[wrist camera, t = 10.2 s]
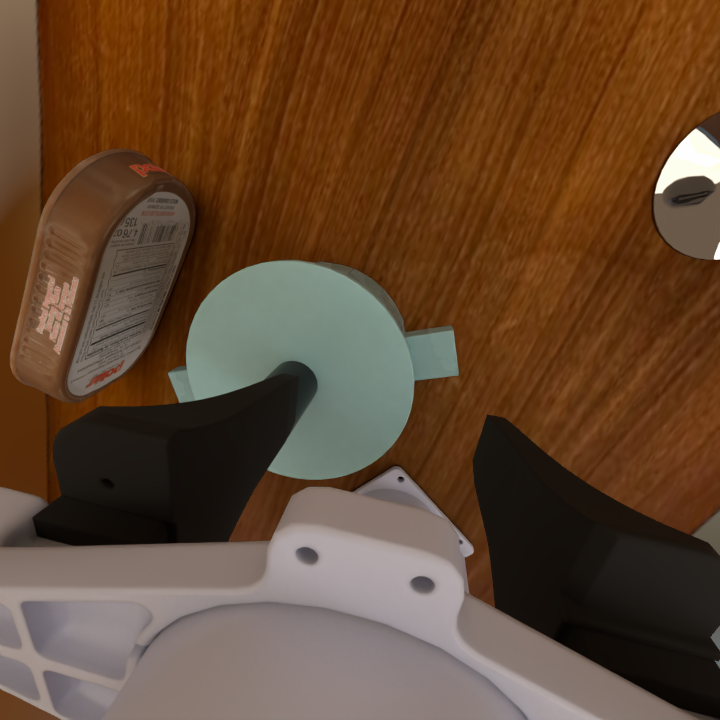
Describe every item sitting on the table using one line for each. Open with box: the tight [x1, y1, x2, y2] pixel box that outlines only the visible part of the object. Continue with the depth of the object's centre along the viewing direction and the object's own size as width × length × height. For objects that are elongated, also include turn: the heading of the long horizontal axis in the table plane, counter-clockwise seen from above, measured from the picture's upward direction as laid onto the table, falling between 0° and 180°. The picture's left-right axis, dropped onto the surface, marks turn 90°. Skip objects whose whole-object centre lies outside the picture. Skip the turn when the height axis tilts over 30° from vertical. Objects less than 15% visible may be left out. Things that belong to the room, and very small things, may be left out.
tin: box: [10, 148, 196, 403], centre depth 20 cm, size 15×3×8 cm, turn 149°
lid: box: [186, 260, 414, 480], centre depth 17 cm, size 12×12×5 cm
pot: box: [168, 262, 459, 403], centre depth 21 cm, size 11×16×6 cm
